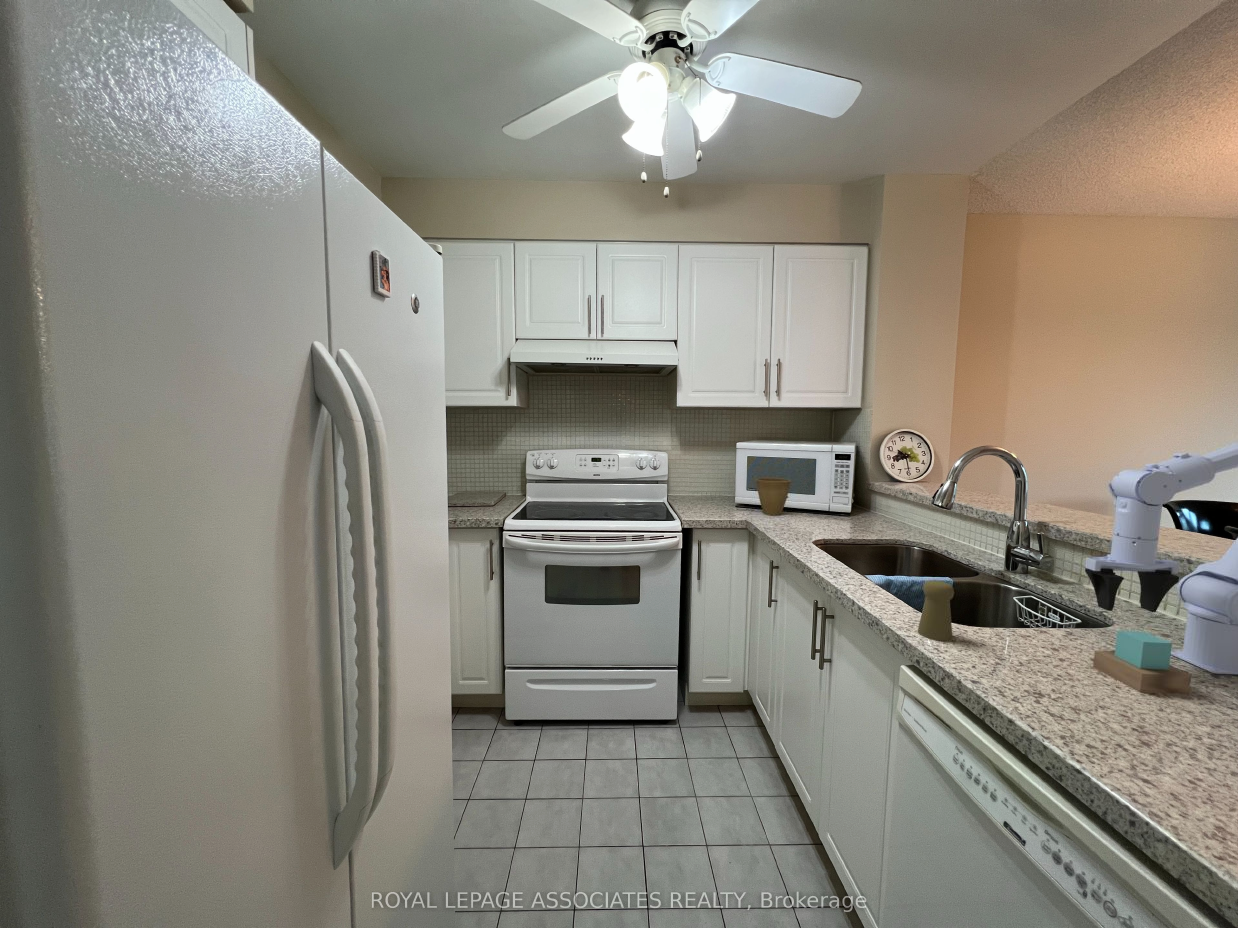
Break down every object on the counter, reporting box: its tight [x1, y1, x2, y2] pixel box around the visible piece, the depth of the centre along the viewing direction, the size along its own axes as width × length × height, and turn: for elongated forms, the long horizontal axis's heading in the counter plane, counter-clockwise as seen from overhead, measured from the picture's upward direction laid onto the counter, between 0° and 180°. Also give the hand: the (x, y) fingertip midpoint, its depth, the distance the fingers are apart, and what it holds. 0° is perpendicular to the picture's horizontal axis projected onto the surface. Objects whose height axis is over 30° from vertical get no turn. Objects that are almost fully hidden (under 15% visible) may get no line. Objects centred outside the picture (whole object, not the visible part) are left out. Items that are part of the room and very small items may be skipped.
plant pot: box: [756, 477, 792, 516], centre depth 228 cm, size 15×15×16 cm
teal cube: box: [1114, 630, 1173, 670], centre depth 84 cm, size 4×4×4 cm
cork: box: [917, 579, 955, 642], centre depth 101 cm, size 6×6×11 cm
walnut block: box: [1092, 650, 1192, 694], centre depth 85 cm, size 8×8×4 cm
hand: (1126, 609), depth 91 cm, fingers open, 7 cm apart
